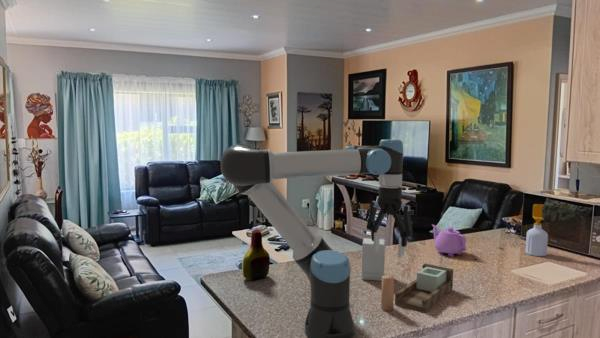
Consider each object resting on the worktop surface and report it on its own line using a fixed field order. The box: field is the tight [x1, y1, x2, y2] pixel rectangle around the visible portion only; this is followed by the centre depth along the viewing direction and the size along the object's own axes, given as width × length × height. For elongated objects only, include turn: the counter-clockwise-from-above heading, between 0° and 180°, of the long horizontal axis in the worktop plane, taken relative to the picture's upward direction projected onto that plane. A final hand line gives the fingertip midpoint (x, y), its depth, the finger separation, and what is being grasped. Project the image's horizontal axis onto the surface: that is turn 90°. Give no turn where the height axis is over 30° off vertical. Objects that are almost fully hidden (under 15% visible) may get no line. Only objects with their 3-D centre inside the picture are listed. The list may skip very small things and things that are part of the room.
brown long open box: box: [394, 263, 454, 313], centre depth 163 cm, size 26×11×8 cm, turn 142°
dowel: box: [380, 274, 395, 312], centre depth 153 cm, size 4×4×11 cm
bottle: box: [241, 228, 271, 281], centre depth 181 cm, size 12×6×20 cm, turn 120°
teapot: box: [431, 224, 467, 258], centre depth 218 cm, size 20×14×12 cm
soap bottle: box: [525, 203, 549, 257], centre depth 217 cm, size 9×9×25 cm
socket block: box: [416, 267, 447, 292], centre depth 168 cm, size 9×8×6 cm
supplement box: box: [361, 237, 386, 282], centre depth 184 cm, size 9×9×15 cm
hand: (388, 253), depth 151 cm, fingers open, 8 cm apart
